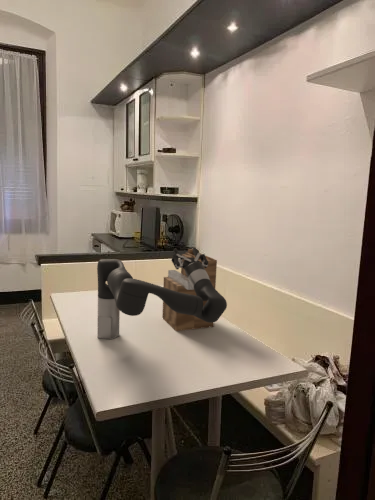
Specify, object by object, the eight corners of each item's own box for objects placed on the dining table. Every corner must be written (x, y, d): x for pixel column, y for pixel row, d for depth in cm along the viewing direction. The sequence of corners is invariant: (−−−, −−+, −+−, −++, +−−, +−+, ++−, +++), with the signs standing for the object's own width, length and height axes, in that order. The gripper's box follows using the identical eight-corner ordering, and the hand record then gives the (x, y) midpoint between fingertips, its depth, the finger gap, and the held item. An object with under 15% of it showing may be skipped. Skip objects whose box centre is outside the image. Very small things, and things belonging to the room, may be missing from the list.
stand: (213, 326, 184) (217, 254, 179) (175, 331, 177) (178, 256, 171) (197, 314, 200) (200, 248, 195) (162, 318, 193) (164, 249, 188)
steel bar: (195, 289, 169) (195, 281, 168) (187, 289, 168) (188, 281, 167) (174, 276, 191) (175, 269, 190) (168, 277, 189) (168, 270, 189)
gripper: (216, 268, 152) (202, 242, 163) (183, 270, 146) (170, 243, 157) (211, 282, 157) (197, 255, 168) (178, 284, 151) (166, 256, 162)
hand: (184, 249), depth 162 cm, fingers open, 8 cm apart
